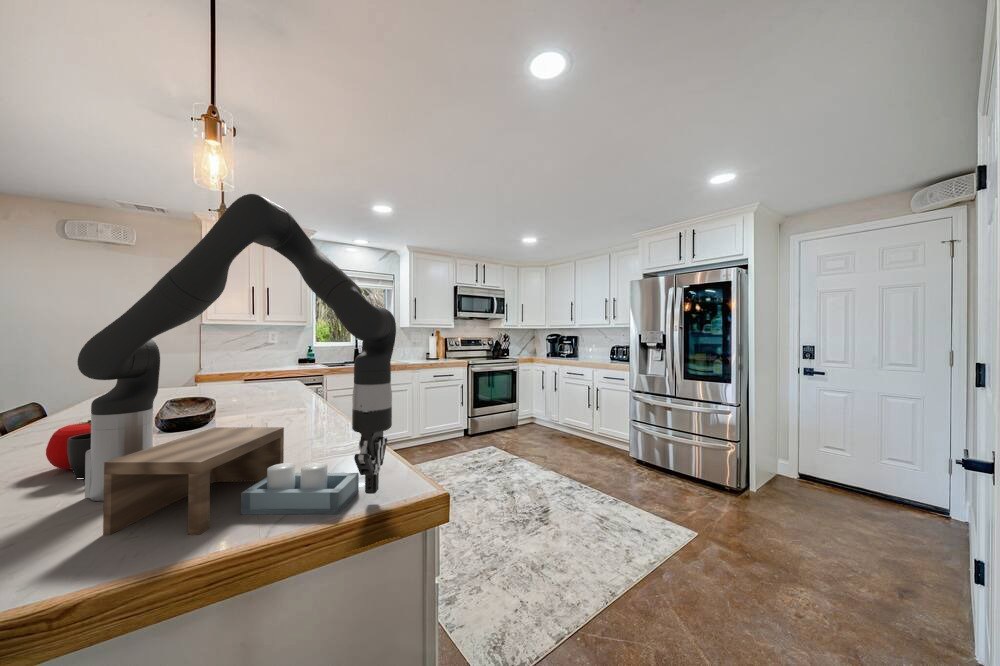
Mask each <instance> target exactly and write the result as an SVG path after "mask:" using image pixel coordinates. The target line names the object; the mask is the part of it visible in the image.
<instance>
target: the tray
mask: <svg viewBox="0 0 1000 666" xmlns="http://www.w3.org/2000/svg"><path fill="white" fill-rule="evenodd" d="M359 475H360V473H359V472H328V464H327V463H324V462H315V463H309V464H306V465H304V466H301V468H300V472H296V464H295V463H293V462H283V463H282V464H277V465H273V466H271V467H269V468H268V469H267V477H266V478H265V479H263V480H262V481H257V482H256V483H255V484H253V485H252V486H250V487H249V488H247V489H245V490H244V491H242V492H241V493H240V495H241V501H240V514H241V515H339V514H340V513H341V512H342V511H343V510H344V508H346V506H347V505H348V504H349V503H350V502H351V501H352V499H354V497H355V496H357V494H358V493H359V489H360V488H359V482H360V481H359V478H360V476H359Z"/></svg>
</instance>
